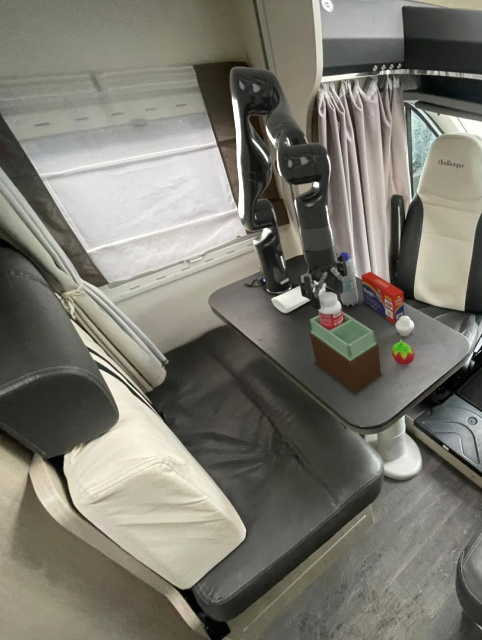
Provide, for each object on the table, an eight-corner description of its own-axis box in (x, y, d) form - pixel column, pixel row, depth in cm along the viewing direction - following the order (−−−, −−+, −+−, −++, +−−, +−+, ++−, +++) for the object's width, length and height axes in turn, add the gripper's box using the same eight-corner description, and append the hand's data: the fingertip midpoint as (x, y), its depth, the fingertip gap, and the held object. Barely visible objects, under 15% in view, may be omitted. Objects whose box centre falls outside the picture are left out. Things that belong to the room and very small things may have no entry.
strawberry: (403, 376, 106) (402, 350, 100) (388, 362, 111) (386, 337, 104) (418, 367, 109) (418, 342, 102) (403, 354, 113) (402, 329, 107)
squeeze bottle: (273, 306, 133) (269, 295, 129) (316, 285, 144) (314, 273, 140) (288, 317, 128) (285, 305, 125) (332, 293, 139) (330, 282, 136)
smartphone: (325, 270, 150) (350, 282, 143) (325, 272, 151) (350, 284, 144) (310, 278, 146) (335, 290, 139) (310, 279, 147) (335, 292, 139)
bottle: (356, 309, 132) (350, 258, 118) (338, 307, 133) (330, 256, 119) (361, 299, 136) (356, 249, 123) (344, 297, 137) (337, 247, 124)
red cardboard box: (404, 320, 127) (403, 291, 119) (395, 324, 125) (394, 296, 117) (372, 298, 137) (370, 271, 129) (364, 302, 135) (361, 275, 127)
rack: (316, 363, 110) (305, 319, 99) (342, 347, 116) (335, 304, 105) (354, 394, 101) (347, 349, 90) (380, 375, 107) (377, 331, 95)
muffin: (392, 332, 122) (391, 315, 117) (406, 325, 124) (406, 308, 120) (403, 341, 118) (402, 324, 113) (417, 334, 121) (418, 317, 116)
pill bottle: (338, 338, 99) (332, 305, 92) (318, 334, 100) (311, 300, 93) (348, 325, 103) (343, 292, 96) (328, 321, 105) (322, 288, 97)
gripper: (327, 227, 90) (335, 284, 101) (283, 249, 81) (298, 309, 92) (350, 234, 87) (356, 292, 98) (307, 258, 78) (320, 318, 89)
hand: (328, 300), depth 95 cm, fingers open, 8 cm apart
